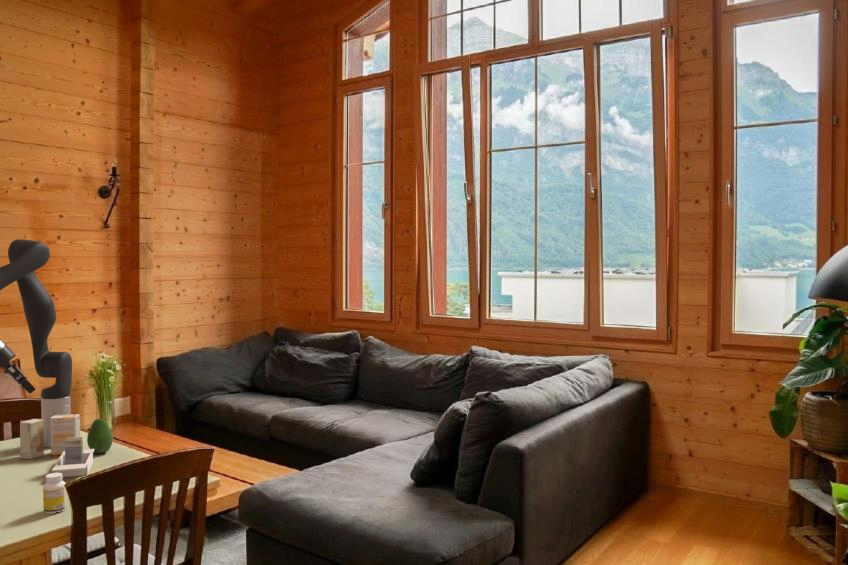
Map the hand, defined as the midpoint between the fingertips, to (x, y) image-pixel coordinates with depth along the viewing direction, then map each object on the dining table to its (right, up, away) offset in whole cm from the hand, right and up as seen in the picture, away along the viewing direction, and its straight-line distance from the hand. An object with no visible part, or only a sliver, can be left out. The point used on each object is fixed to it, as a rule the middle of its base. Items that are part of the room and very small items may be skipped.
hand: (31, 390), depth 221 cm
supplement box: (+1, -25, +20) cm, 32 cm away
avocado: (+12, -25, +21) cm, 35 cm away
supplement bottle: (+24, -28, -32) cm, 49 cm away
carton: (+12, -26, +2) cm, 29 cm away
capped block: (+12, -26, +2) cm, 29 cm away
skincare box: (-8, -25, +16) cm, 31 cm away
